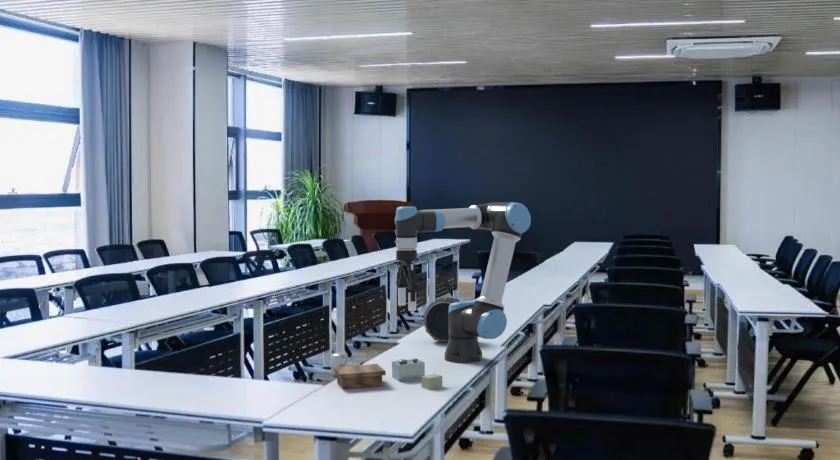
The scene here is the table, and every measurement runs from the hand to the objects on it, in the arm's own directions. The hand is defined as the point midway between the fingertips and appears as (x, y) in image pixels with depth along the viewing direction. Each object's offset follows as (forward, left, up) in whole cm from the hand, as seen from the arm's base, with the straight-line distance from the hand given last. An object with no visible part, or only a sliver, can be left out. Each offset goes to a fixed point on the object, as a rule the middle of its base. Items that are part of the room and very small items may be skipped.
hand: (407, 308), depth 303 cm
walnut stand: (+19, +4, -26) cm, 32 cm away
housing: (0, 0, -26) cm, 26 cm away
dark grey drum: (-35, -60, -26) cm, 74 cm away
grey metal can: (+23, -12, -26) cm, 36 cm away
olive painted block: (-4, +16, -26) cm, 31 cm away
